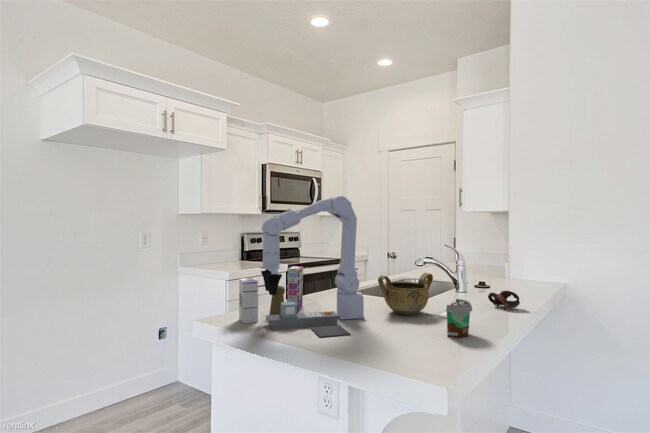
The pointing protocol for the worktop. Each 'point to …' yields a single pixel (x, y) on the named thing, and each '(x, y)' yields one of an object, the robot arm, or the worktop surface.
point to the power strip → (303, 320)
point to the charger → (288, 310)
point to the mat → (330, 331)
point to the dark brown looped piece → (504, 299)
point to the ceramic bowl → (406, 294)
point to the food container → (458, 318)
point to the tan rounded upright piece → (277, 301)
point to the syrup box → (248, 300)
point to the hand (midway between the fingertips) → (270, 292)
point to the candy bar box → (295, 285)
